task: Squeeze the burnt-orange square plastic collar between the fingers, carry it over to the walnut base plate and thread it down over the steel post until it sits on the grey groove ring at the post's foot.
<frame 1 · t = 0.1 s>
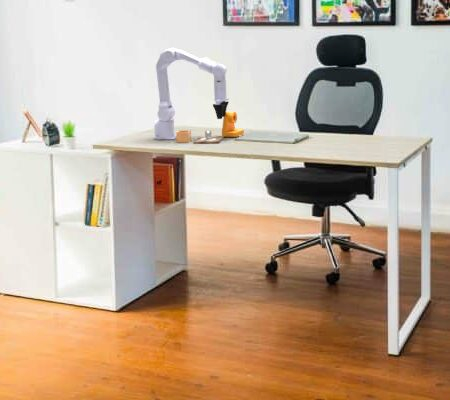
hand: (221, 117, 456), 10 cm above the table, tool pointing down, fingers open, 7 cm apart
steel post: (208, 141, 449), resting on post base
collar: (184, 141, 452), on the table
post base: (208, 141, 449), on the table
bracket: (233, 136, 463), on the table
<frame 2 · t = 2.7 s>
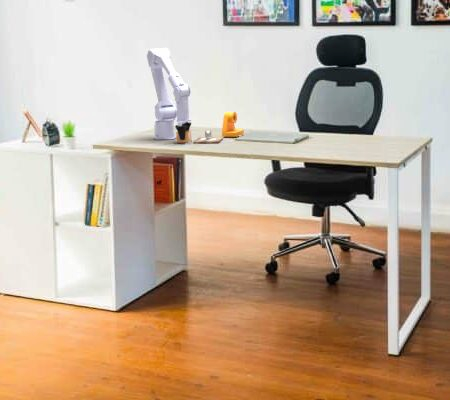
hand: (184, 138, 452), 1 cm above the table, tool pointing down, fingers closed on collar, 6 cm apart
collar: (184, 141, 452), on the table, touching gripper
everything else where it was.
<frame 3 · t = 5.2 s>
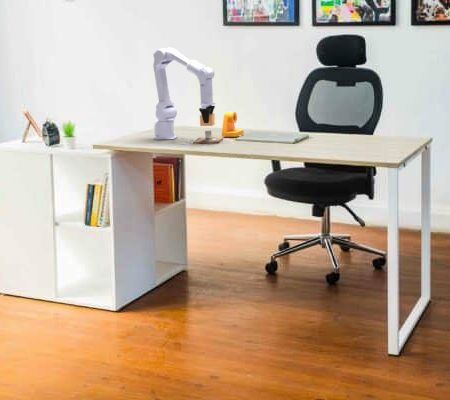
hand: (207, 122, 447), 9 cm above the table, tool pointing down, fingers closed on collar, 6 cm apart
collar: (207, 125, 448), point 8 cm above the table, touching gripper
everything else where it was.
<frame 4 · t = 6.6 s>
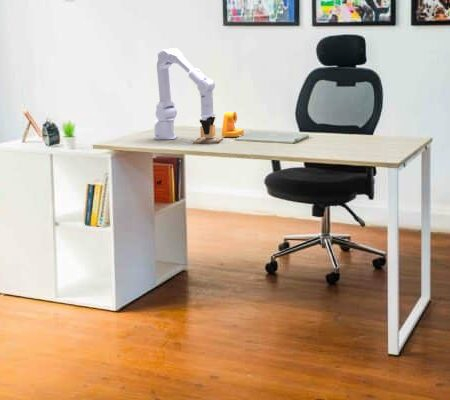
hand: (208, 133, 449), 4 cm above the table, tool pointing down, fingers closed on collar, 6 cm apart
collar: (208, 136, 449), point 3 cm above the table, touching gripper
everything else where it was.
when the fingers open (3 cm above the table, at t = 7.8 s): collar stays where it is, resting on post base.
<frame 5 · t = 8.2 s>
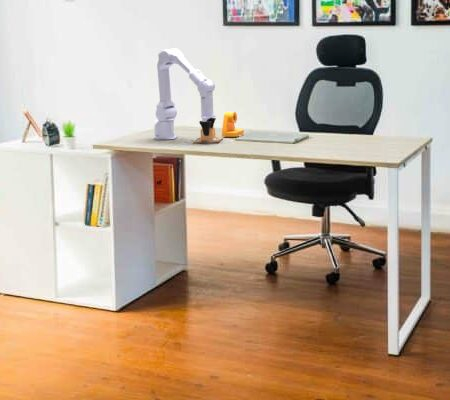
hand: (208, 134, 449), 3 cm above the table, tool pointing down, fingers open, 7 cm apart
collar: (208, 139, 449), point 1 cm above the table, touching post base
everything else where it was.
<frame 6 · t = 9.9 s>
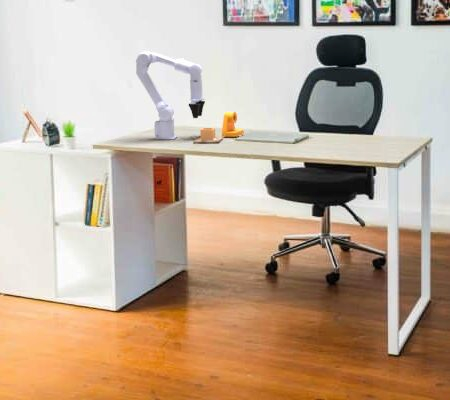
hand: (197, 117, 460), 10 cm above the table, tool pointing down, fingers open, 7 cm apart
nothing on the table moved.
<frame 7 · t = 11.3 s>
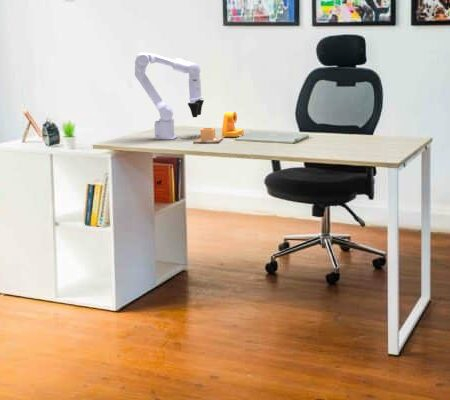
hand: (196, 116, 462), 10 cm above the table, tool pointing down, fingers open, 7 cm apart
nothing on the table moved.
at the end: collar 0.1 cm from the steel post (horizontally); collar point 1.2 cm above the table; the gripper is holding nothing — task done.
